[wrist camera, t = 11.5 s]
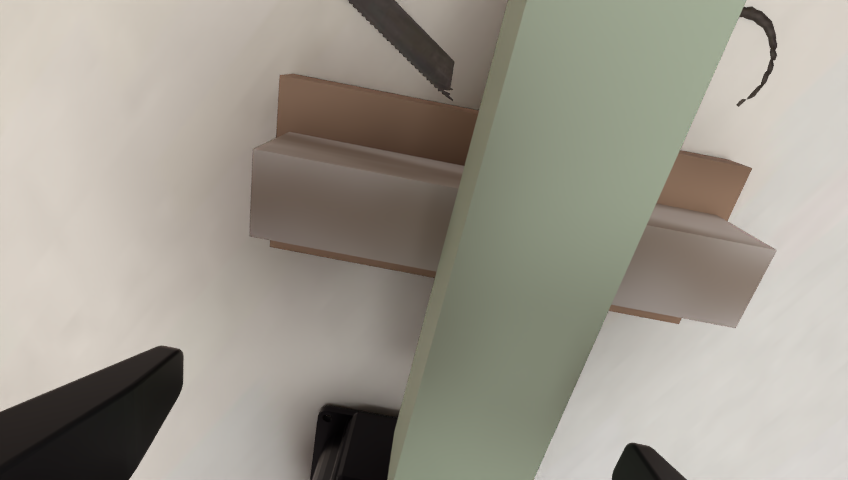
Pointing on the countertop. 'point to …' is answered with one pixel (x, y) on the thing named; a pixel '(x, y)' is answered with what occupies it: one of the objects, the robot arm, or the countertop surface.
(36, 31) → the countertop surface
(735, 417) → the countertop surface
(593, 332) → the bar
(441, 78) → the brown tree branch
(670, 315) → the ridge stand
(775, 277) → the countertop surface
